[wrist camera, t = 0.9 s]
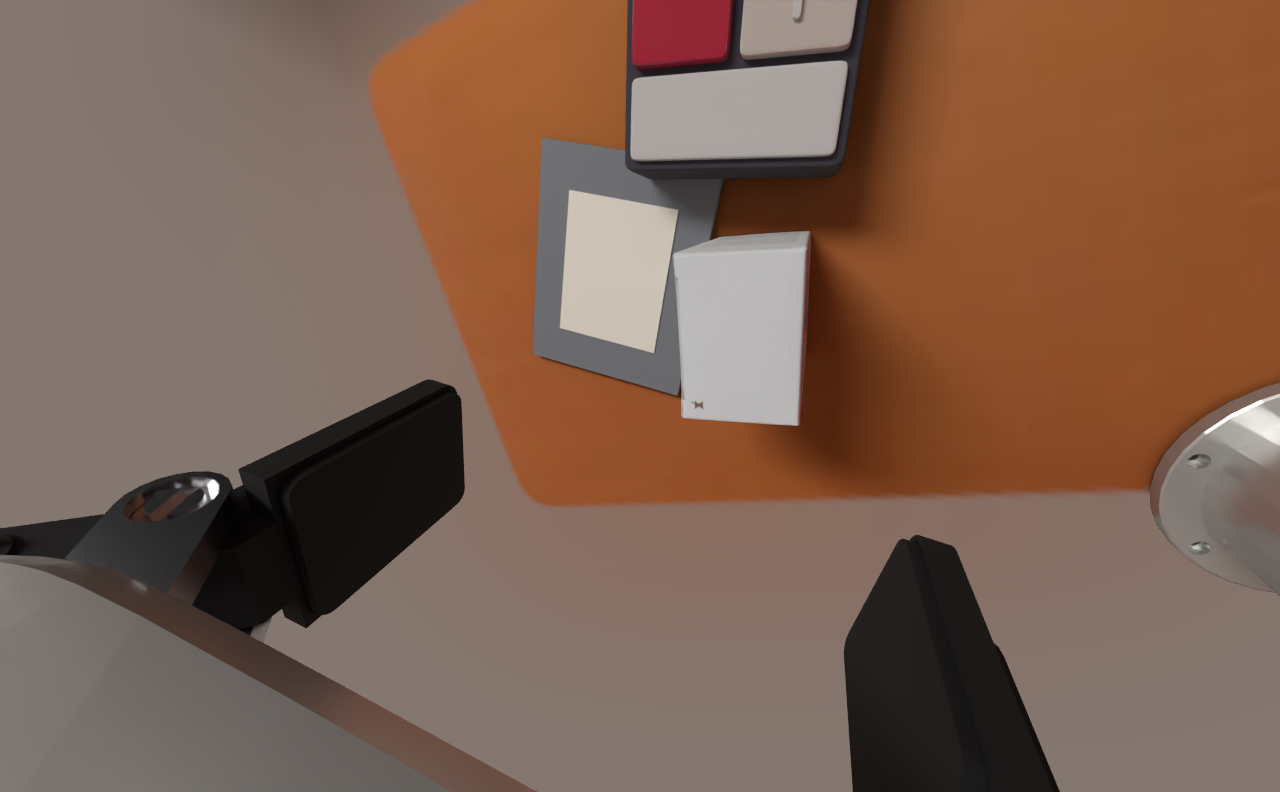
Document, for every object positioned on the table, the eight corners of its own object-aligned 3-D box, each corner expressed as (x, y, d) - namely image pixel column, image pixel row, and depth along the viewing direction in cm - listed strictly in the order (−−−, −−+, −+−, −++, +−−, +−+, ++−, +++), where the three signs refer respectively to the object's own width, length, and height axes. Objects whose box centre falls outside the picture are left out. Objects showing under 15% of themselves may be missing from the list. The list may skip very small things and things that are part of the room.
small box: (806, 359, 29) (801, 432, 20) (719, 357, 31) (680, 423, 22) (813, 227, 26) (811, 244, 17) (717, 234, 28) (670, 252, 19)
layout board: (726, 166, 27) (724, 165, 26) (679, 392, 33) (677, 396, 33) (546, 138, 29) (540, 137, 29) (536, 351, 36) (532, 354, 36)
